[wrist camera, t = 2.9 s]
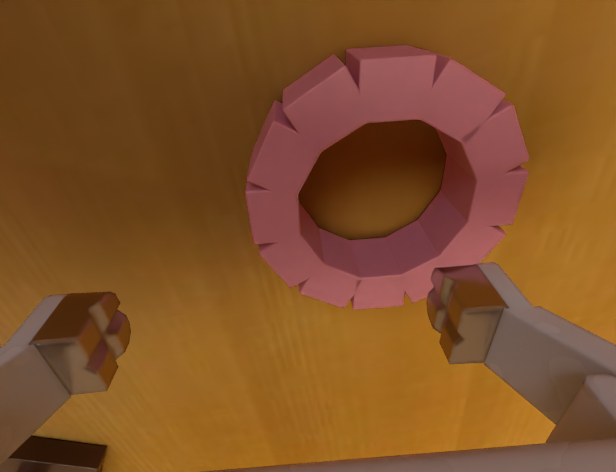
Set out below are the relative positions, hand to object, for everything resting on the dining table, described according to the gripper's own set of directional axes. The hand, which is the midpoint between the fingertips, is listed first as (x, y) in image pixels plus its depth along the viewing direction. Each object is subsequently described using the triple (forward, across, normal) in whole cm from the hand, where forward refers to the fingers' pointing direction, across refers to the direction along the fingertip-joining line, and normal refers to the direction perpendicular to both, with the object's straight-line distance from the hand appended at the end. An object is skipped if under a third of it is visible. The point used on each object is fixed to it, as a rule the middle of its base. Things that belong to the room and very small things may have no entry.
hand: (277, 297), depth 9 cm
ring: (+7, -4, 0) cm, 8 cm away
